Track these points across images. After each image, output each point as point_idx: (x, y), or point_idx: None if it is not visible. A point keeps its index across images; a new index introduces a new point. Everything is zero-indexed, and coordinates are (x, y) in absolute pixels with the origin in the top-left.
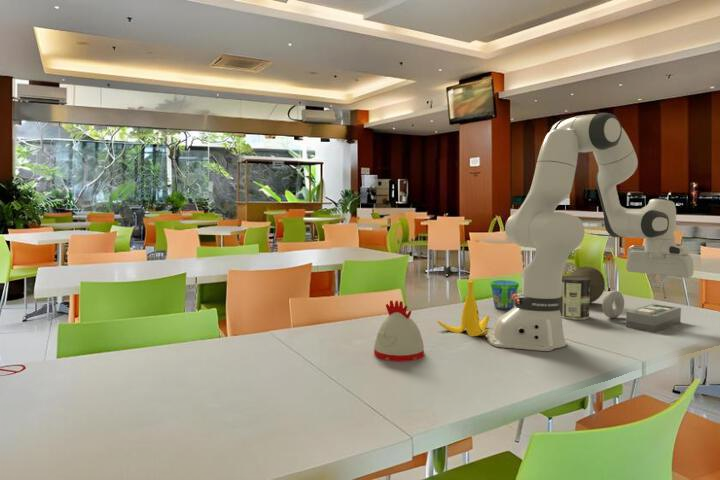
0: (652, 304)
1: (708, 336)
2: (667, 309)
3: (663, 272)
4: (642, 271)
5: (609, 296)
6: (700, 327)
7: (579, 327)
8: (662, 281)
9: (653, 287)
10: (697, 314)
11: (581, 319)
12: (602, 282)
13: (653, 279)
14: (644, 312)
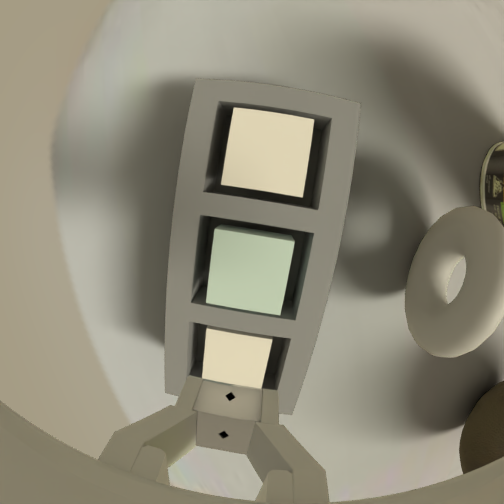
0: (290, 399)
1: (62, 184)
2: (207, 353)
3: (70, 482)
4: (423, 502)
5: (498, 235)
6: (109, 311)
7: (441, 36)
8: (151, 417)
9: (263, 389)
10: (188, 464)
11: (487, 154)
12: (484, 458)
13: (268, 463)
14: (265, 112)
